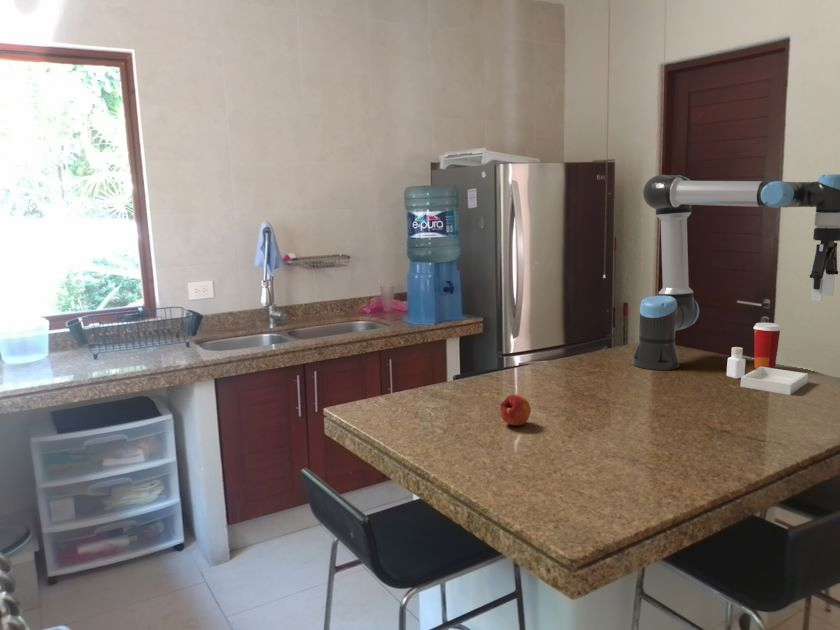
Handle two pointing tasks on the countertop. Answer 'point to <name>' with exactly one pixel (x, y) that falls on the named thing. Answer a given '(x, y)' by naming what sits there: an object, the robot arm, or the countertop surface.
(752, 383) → the bin
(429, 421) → the countertop surface
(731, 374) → the salt shaker
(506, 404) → the fruit
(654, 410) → the countertop surface
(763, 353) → the coffee cup
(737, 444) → the countertop surface
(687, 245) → the robot arm
